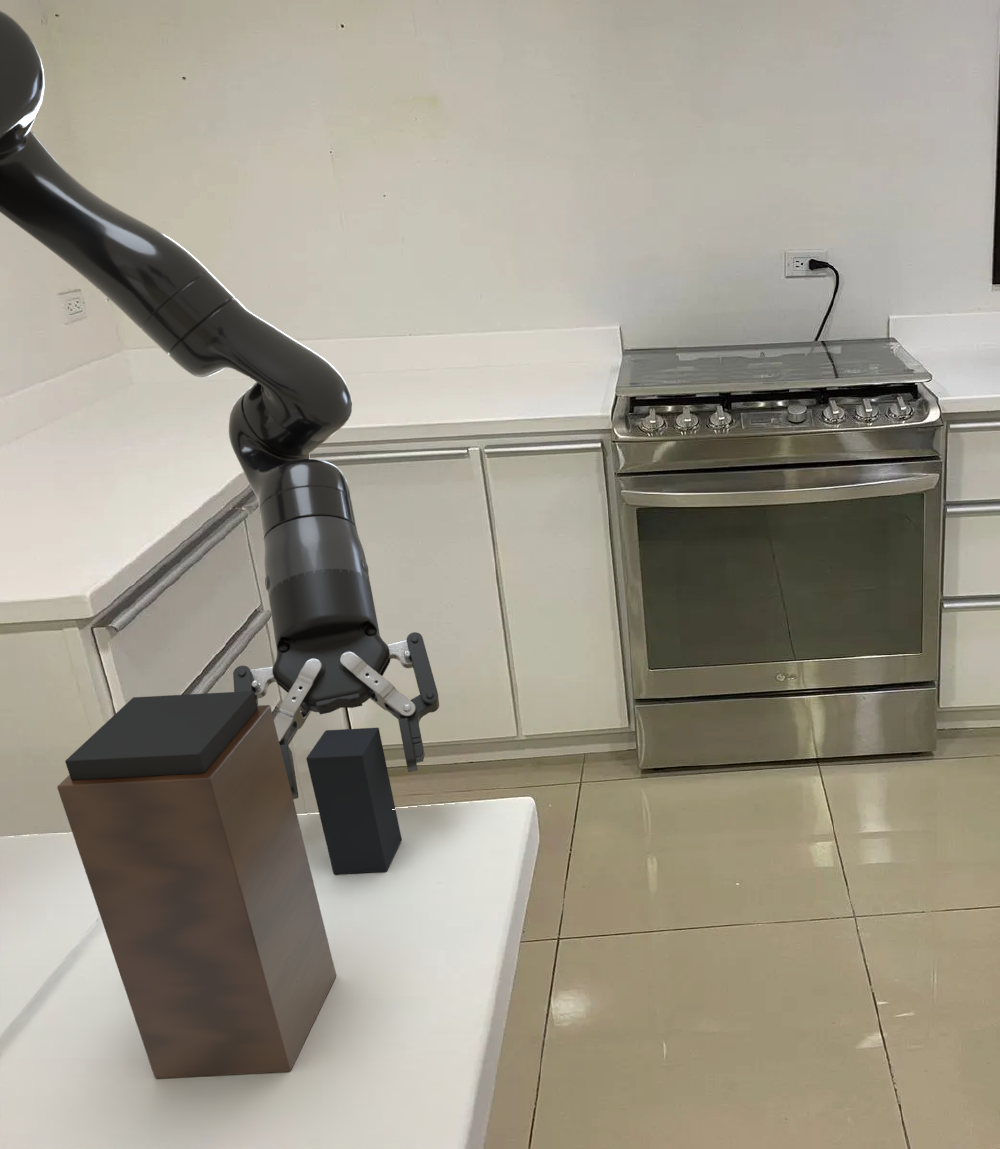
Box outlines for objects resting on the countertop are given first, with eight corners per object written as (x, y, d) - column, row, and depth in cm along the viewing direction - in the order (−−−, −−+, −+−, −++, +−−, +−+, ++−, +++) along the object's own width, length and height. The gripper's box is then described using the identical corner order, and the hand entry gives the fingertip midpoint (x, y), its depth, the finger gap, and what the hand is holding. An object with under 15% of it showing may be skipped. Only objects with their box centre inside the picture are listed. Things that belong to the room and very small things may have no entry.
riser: (154, 1078, 65) (55, 786, 58) (214, 982, 73) (134, 711, 65) (290, 1071, 65) (209, 778, 58) (337, 975, 73) (270, 704, 65)
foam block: (333, 874, 83) (305, 758, 79) (350, 842, 87) (325, 729, 83) (386, 871, 83) (361, 755, 79) (402, 839, 87) (379, 726, 83)
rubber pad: (70, 780, 58) (64, 760, 58) (138, 715, 65) (133, 696, 65) (204, 773, 58) (198, 753, 58) (258, 708, 65) (253, 690, 64)
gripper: (415, 589, 94) (452, 773, 88) (231, 622, 89) (258, 818, 84) (409, 550, 87) (449, 746, 82) (211, 584, 83) (238, 794, 77)
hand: (352, 782), depth 83 cm, fingers open, 8 cm apart
